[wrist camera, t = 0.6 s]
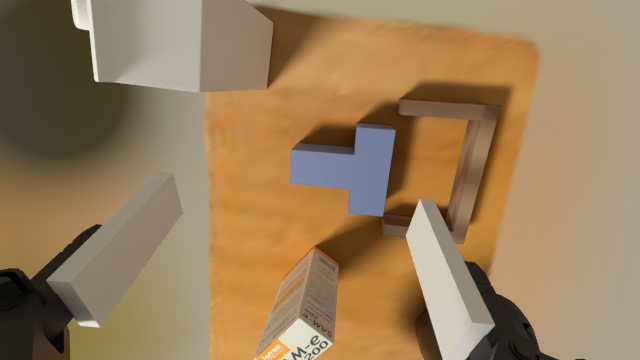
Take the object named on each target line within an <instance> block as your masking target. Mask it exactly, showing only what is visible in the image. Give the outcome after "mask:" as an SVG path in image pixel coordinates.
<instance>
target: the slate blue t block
mask: <svg viewBox="0 0 640 360" xmlns="http://www.w3.org/2000/svg"><path fill="white" fill-rule="evenodd" d="M395 132H396V130H395V129H394V128H393V127H392V126H391V125H382V124H368V123H357V125H356V135H355V145H354V147H343V146H330V145H318V144H306V143H297V144H296V145H295V146H294V147H293V148H292V149H291V178H290V184H300V185H311V186H321V187H332V188H342V189H350V194H349V210H348V213H352V214H362V215H372V216H381V217H383V212H384V206H385V199H386V192H387V186H388V179H389V172H390V165H391V159H392V152H393V145H394V139H395Z"/></svg>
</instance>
